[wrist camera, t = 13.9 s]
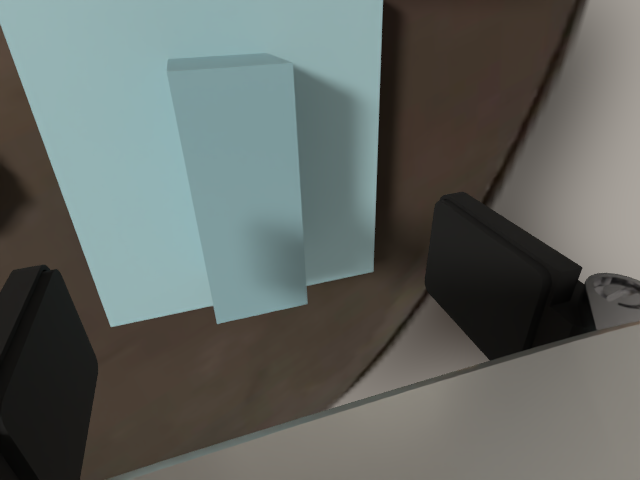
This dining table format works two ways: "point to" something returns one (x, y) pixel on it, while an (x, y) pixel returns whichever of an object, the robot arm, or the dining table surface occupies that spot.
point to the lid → (208, 144)
